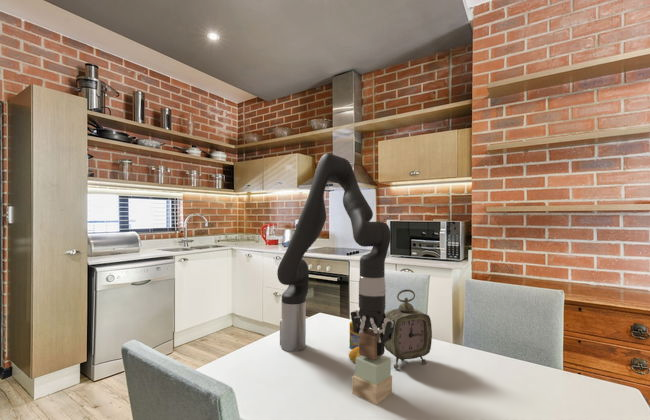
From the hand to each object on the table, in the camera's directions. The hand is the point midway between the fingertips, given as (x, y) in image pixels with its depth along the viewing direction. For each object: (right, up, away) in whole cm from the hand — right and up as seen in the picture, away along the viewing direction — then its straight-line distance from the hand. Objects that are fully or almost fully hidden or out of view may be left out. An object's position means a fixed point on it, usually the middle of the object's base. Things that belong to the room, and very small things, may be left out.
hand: (371, 351), depth 90 cm
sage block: (0, -7, 0) cm, 7 cm away
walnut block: (0, -1, 0) cm, 1 cm away
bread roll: (-1, -12, +20) cm, 24 cm away
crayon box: (0, -12, +29) cm, 31 cm away
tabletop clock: (+14, -12, +18) cm, 26 cm away
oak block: (0, -12, 0) cm, 12 cm away
